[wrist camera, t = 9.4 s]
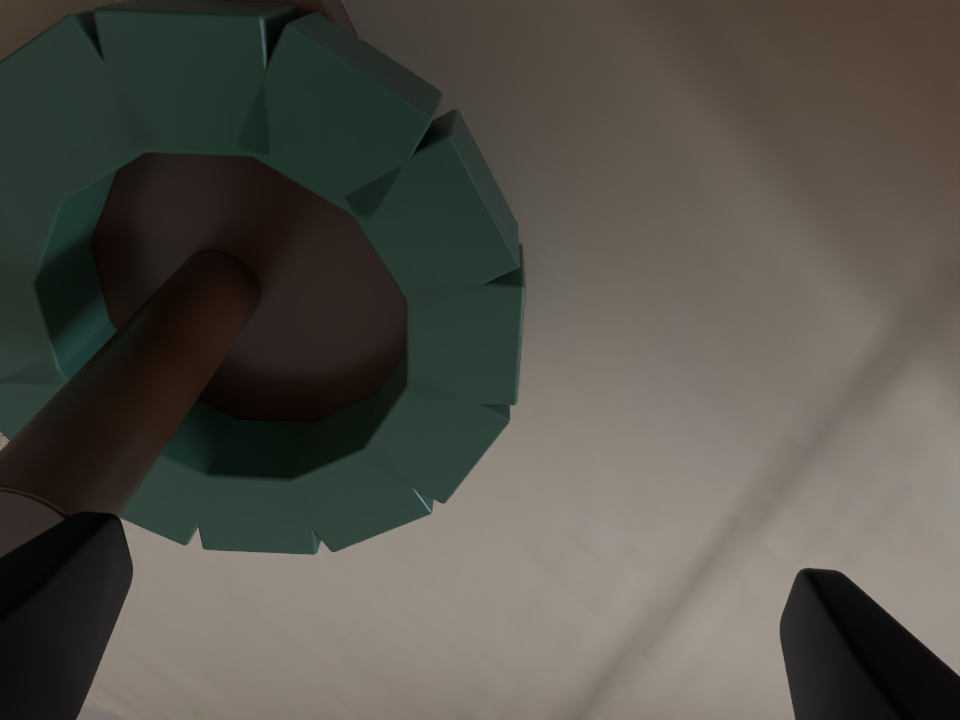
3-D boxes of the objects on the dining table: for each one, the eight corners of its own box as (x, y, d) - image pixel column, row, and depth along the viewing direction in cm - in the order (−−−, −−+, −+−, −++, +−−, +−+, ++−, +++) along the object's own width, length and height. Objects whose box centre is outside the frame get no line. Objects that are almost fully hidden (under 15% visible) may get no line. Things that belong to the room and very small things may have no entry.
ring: (505, 500, 17) (505, 565, 15) (63, 481, 17) (14, 543, 15) (538, 13, 12) (544, 25, 10) (-92, -13, 12) (-192, -5, 10)
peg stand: (311, -61, 13) (61, -58, 5) (517, 360, 17) (531, 681, 9) (-81, 157, 15) (-639, 366, 7) (187, 485, 19) (-7, 826, 11)
